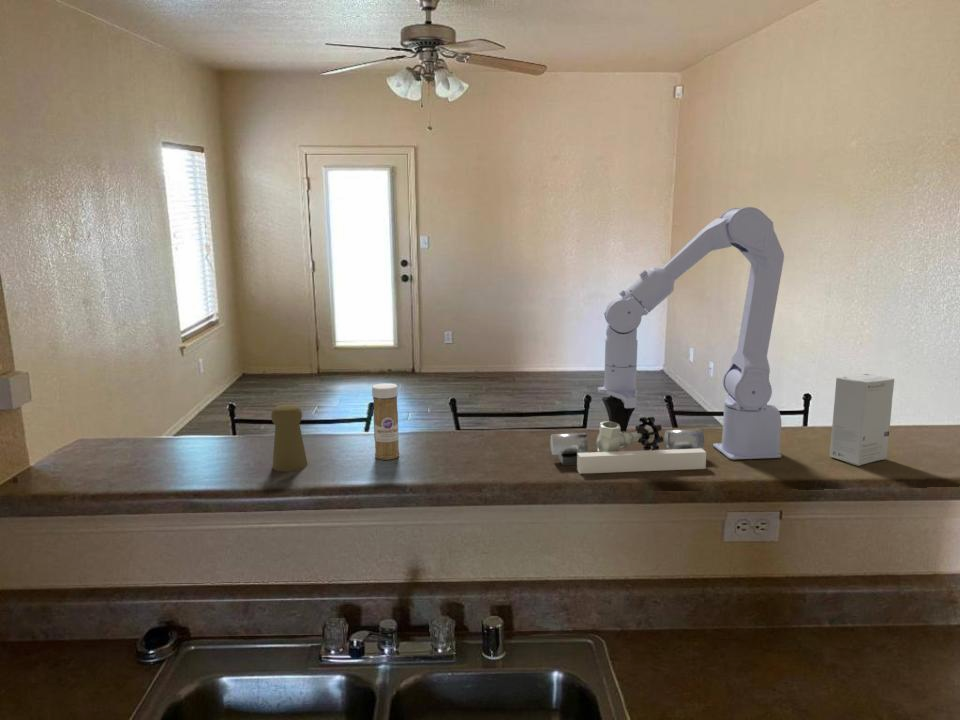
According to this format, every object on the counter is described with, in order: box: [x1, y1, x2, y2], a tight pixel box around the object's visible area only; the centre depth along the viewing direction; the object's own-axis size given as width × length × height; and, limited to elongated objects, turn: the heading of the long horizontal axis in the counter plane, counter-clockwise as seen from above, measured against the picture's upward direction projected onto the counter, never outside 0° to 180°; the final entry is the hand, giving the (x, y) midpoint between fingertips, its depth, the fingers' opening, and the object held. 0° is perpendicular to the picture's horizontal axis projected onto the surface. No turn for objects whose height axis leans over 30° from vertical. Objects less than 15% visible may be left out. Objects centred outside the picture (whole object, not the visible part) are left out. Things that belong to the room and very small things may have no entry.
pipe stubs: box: [550, 428, 705, 466], centre depth 124 cm, size 27×4×5 cm, turn 95°
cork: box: [270, 403, 309, 473], centre depth 122 cm, size 6×6×11 cm
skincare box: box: [829, 373, 895, 467], centre depth 123 cm, size 8×6×15 cm
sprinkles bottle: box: [371, 382, 400, 460], centre depth 126 cm, size 5×5×13 cm
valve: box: [595, 416, 664, 452], centre depth 125 cm, size 7×7×12 cm
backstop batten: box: [576, 448, 707, 475], centre depth 119 cm, size 22×2×3 cm, turn 95°
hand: (618, 435), depth 129 cm, fingers closed
